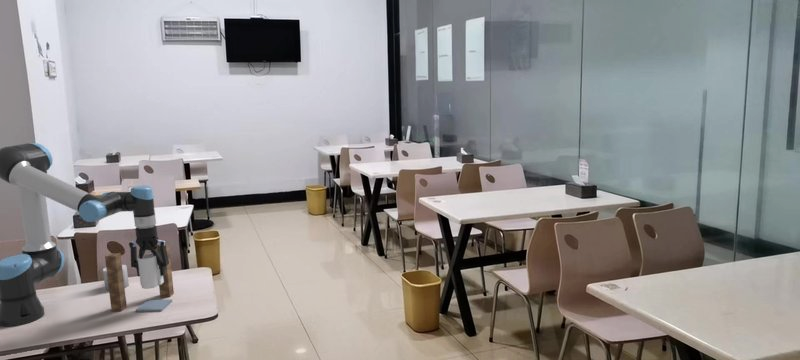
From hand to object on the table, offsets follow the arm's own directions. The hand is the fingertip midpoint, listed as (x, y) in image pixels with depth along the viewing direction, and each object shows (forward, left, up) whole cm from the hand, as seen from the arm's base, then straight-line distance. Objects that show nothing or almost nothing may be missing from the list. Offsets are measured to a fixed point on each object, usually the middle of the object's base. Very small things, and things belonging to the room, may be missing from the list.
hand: (152, 283), depth 227 cm
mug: (0, 0, -1) cm, 1 cm away
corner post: (-13, -2, -9) cm, 16 cm away
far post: (0, +12, -9) cm, 15 cm away
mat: (0, 0, -9) cm, 9 cm away
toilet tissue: (-27, +25, -10) cm, 38 cm away
